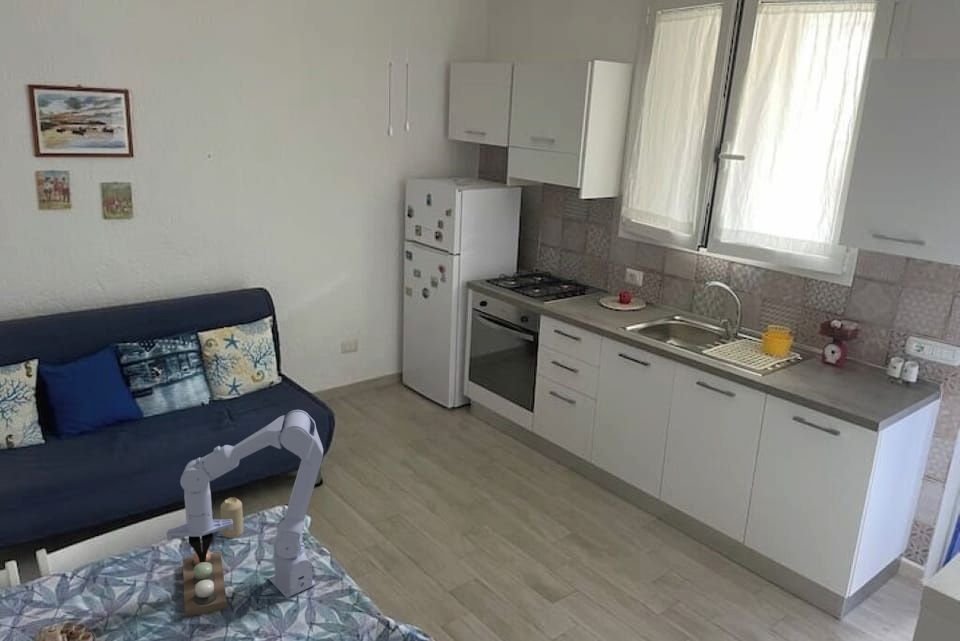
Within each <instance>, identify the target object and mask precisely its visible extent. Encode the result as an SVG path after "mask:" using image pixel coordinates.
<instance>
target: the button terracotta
mask: <svg viewBox="0 0 960 641" xmlns="http://www.w3.org/2000/svg"><path fill="white" fill-rule="evenodd" d="M211 554H212V553H211V551H210V550H209V549H208V551H207V555H206V562H208V563H209V562H210V560H211ZM192 555H193V556H192V557H193V559H194V564H196V565H197V564H199V563H200V562H199V558H198V556H197V553H196V552H195V551H194V553H193V554H192ZM201 563H202V562H201Z"/></svg>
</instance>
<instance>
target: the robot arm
mask: <svg viewBox="0 0 960 641" xmlns="http://www.w3.org/2000/svg"><path fill="white" fill-rule="evenodd" d="M268 446H271V447H274V448H277V449H278V450H279V449H280V450H281V449H282V446H283V448H284V449H286V450H288V451H289V452H291V453H292V454H294V455H295V456H298V457H299V459H301V460H300V464H299V467H298V471H297V474H296V477H295V481H294V484H293V486H292V487H293V488H292V491H291V494H290V498H289V501H288V505H287V508H286V510H285V511H284V512H285V513H284V515H283V517H282V518H281V519H280V520H279V522H278V523H277V528H276V529H277V530H276V537H275V540H274V544H273V552H274V553H273V554H274V556H273V558H274V560H273V561H274V574H271V575H269V577H268V580H269V581H270V582H271V583H272V584H273V586H274V587H276V589H278V591H280V593H281V594H282V595H283V596H284V597H285V598H290V597H292V596H294V595H297V594H299V593H300V592H303V591H305V590H307V589H310V588H311V587H314V586H315V585H316V584H317V583H316V582H315V580H313V565H312V562H311V561H310V560H309V559H308V557H307V555H306V551H305V550H306V547H305V543H304V541H303V540H302V537H303V531H304V528H305V527H304V522H305V518H306V515H307V511H308V508H309V504H310V501H311V498H312V494H313V492H314V488H315V484H316V482H317V478H318V475H319V472H320V467H321V464H322V460H323V458H324V457H323V456H324V448H323V444H322V441H321V439H320V436H319V433H318V430H317V426H316V422H315V420H314V419H313V418H312V417H311V416H310V415H309V413H308V412H306V411H304V410H301V409H294V410H291V411H289V412H288V413H287V414H286V415H285V414H284V415H281V416H279V417H277V418H276V419H275V420H273V421H272V422H271V423H269V424H267V425H266V426H264V427H262V428H261V429H259V430H258V431H256V432H254V433H253V434H251V435H249V436H248V437H246V438H244V439H243V440H241V441H240V442H238V443H236V444H235V445H230V444H225V445H224V444H223V446H220V445H217V446H216V447H214V448H213V451H212V452H210V453H208V454H207V455H205V456H203V457H200V456H199V457H198V458H196V459H192V460H190V461H189V462H188V463H187V464H186V466H185V468H184V470H183V472H182V475H181V476H180V486H181V488H182V489H183V491H184V493H183V496H184V509H185V510H184V511H185V518H186V519H185V520H186V523H185V524H181V525H179V526H176V527H173V528H167V529H166V541H167V542H172V541H173V539H178V538H184V537H188V543H189V545H190V547H192V549H193V550H194V553H195V552H196V553H197V556H198V558H199V562H200V563H201V562H206V555H207V551H208V550H209V548H210V546H211V544H212V542H213V540H214V534H213V533H215V532H222V530H228V531H231V530H233V522H232V519H228V520H221V519H213V507H212V493H211V486H210V485H211V484H210V482H211V481H214V480H216V479H217V478H219V477H221V476H223V475H225V474H227V473H229V472H230V471H232V470H234V469H235V468H237V467H239V465H240V462H241V461H240V460H242V459H243V458H246V457H248V456H250V455H252V454H254V453H256V452H257V451H259V450H262V449H264V448H266V447H268Z"/></svg>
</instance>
